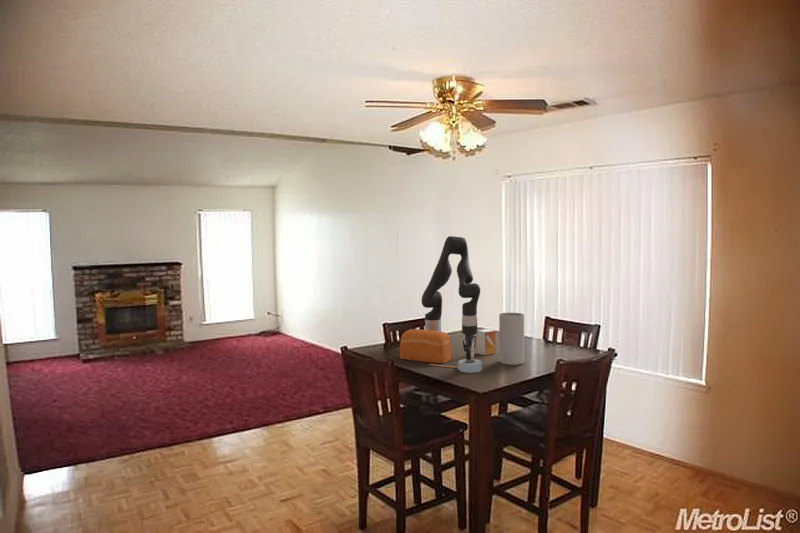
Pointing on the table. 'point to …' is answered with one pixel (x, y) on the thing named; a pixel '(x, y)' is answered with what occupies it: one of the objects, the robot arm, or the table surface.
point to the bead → (469, 366)
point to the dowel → (471, 354)
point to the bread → (425, 346)
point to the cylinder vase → (511, 338)
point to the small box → (486, 341)
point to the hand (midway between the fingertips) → (469, 358)
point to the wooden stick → (443, 366)
